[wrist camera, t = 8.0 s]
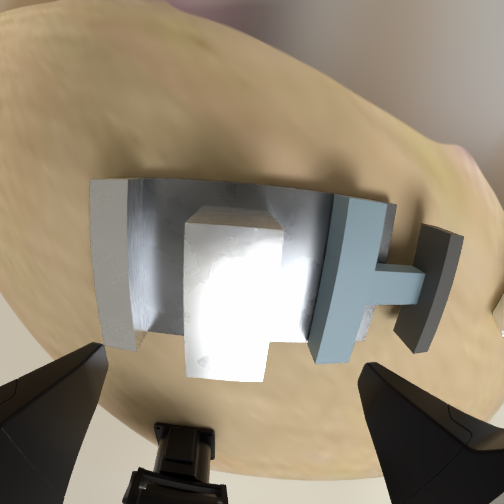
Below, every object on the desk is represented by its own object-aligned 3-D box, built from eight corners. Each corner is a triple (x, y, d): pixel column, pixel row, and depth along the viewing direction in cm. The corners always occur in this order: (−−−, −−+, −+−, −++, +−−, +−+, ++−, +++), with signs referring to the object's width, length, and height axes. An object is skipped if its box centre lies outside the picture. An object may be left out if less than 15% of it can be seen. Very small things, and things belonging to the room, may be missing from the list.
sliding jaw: (402, 339, 20) (422, 361, 17) (307, 343, 19) (318, 373, 16) (436, 213, 17) (466, 222, 14) (334, 193, 16) (357, 199, 13)
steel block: (255, 324, 19) (262, 381, 13) (198, 320, 19) (186, 376, 13) (268, 210, 17) (284, 230, 11) (203, 205, 16) (184, 222, 11)
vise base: (359, 334, 21) (377, 359, 17) (122, 320, 19) (104, 345, 16) (389, 202, 18) (418, 210, 14) (116, 177, 16) (90, 179, 13)
